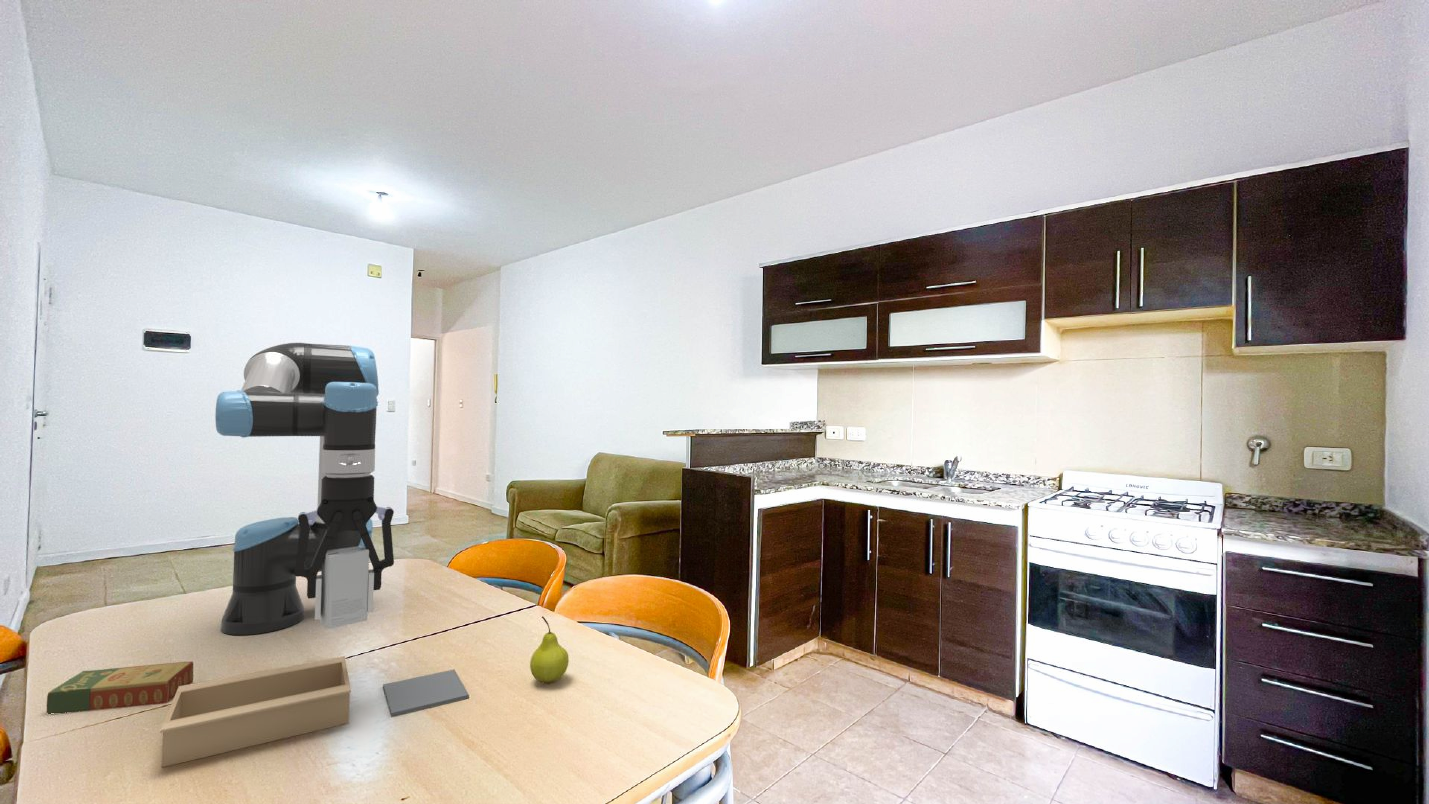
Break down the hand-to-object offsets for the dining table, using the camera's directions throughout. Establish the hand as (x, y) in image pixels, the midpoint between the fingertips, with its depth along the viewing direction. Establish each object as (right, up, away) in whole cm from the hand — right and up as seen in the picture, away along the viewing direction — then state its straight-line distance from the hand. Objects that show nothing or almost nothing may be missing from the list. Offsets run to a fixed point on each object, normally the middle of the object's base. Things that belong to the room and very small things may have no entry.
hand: (344, 613), depth 100 cm
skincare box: (0, -2, 0) cm, 2 cm away
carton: (-39, -16, +3) cm, 42 cm away
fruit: (+31, -17, +12) cm, 37 cm away
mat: (+10, -16, +7) cm, 21 cm away
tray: (-9, -16, -6) cm, 19 cm away
